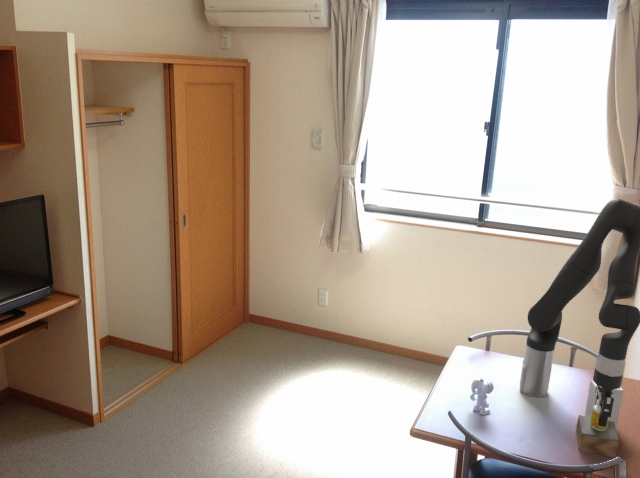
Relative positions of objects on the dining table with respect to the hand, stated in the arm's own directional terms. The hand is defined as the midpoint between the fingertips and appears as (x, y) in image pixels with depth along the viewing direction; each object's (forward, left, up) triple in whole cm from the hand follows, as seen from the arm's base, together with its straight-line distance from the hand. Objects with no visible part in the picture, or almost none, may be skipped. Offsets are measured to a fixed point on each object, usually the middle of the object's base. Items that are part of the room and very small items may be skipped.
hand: (600, 418), depth 177 cm
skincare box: (+3, +12, -9) cm, 15 cm away
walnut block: (0, 0, -9) cm, 9 cm away
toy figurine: (-34, +6, -9) cm, 36 cm away
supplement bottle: (0, 0, -3) cm, 3 cm away
